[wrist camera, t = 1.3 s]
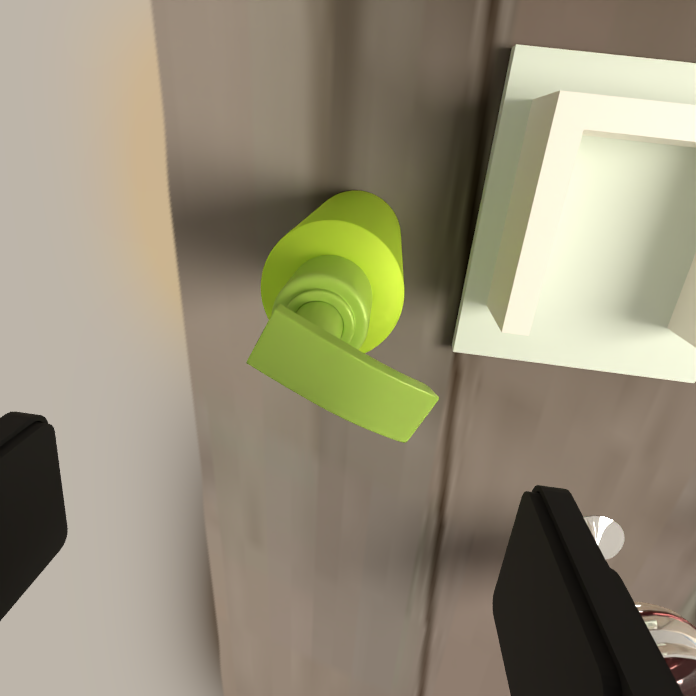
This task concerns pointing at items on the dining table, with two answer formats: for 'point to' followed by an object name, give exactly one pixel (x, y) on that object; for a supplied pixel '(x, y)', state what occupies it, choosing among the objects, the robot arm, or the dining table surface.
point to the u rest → (588, 218)
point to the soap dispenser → (340, 315)
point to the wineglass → (655, 614)
